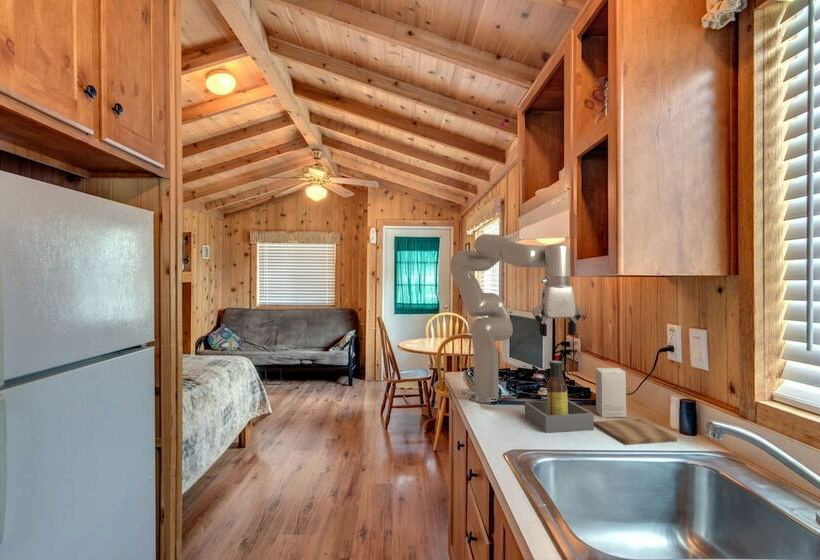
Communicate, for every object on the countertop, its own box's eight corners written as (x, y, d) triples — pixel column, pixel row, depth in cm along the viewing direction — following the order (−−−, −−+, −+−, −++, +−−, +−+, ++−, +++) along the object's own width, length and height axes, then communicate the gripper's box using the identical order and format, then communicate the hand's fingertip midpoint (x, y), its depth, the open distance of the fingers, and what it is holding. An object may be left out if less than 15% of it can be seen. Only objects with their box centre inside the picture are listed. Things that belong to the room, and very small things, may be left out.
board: (625, 444, 119) (625, 440, 119) (593, 425, 135) (593, 421, 135) (677, 441, 121) (677, 437, 121) (639, 422, 137) (639, 419, 137)
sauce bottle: (572, 424, 136) (572, 362, 136) (559, 427, 133) (559, 364, 133) (555, 418, 142) (555, 359, 142) (542, 421, 139) (542, 360, 139)
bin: (545, 432, 129) (545, 416, 129) (524, 416, 144) (524, 401, 144) (593, 430, 131) (593, 413, 131) (567, 414, 146) (567, 399, 146)
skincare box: (619, 412, 148) (619, 367, 148) (627, 418, 142) (627, 371, 142) (594, 411, 149) (594, 367, 149) (601, 417, 143) (601, 371, 143)
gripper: (537, 282, 133) (537, 337, 133) (588, 282, 135) (588, 336, 135) (527, 282, 140) (527, 334, 140) (575, 282, 143) (576, 333, 142)
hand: (557, 335), depth 137 cm, fingers open, 9 cm apart
